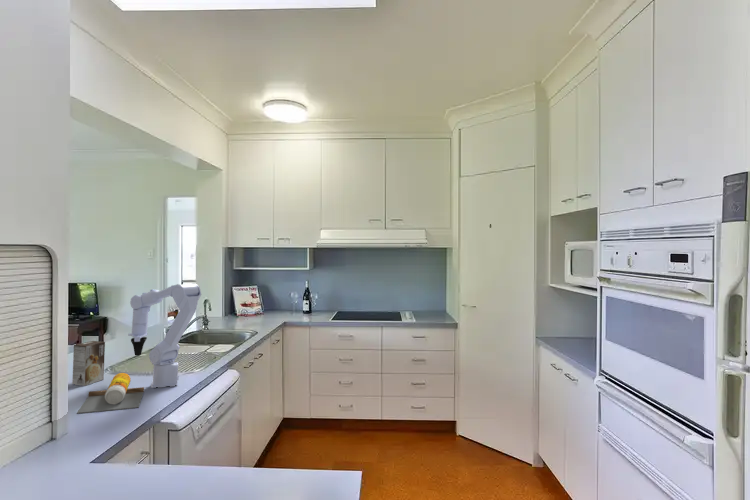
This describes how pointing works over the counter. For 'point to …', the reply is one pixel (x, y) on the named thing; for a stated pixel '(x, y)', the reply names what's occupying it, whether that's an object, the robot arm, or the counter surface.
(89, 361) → the coffee box
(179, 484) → the counter surface
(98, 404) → the mat
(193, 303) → the robot arm
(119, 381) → the beer can
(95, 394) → the bar
